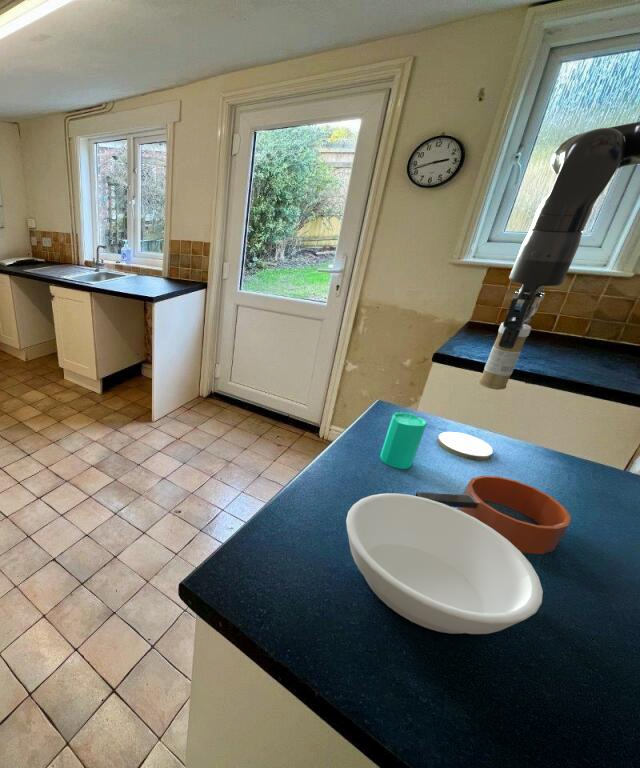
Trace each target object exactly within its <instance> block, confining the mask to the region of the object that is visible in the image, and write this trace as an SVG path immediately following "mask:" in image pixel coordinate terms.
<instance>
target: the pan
mask: <svg viewBox="0 0 640 768" xmlns="http://www.w3.org/2000/svg"><path fill="white" fill-rule="evenodd" d="M414 496H417V497H422V498H426V499H430V500H433V501H436V502H439V503H443V504H445V505H448V506H450V507H452V508H457V510H460V511H462V512H464V513H466V514H468V515H470V516H472V517H474V518H476V519H477V520H479V521H481V522H482V523H484V524H486V525H487V526H489V527H491V528H492V529H494V530H495V531H496V532H498V533H499V534H500V535H502V536H503V537H504V538H506V539H507V540H508V541H509V542H510V543H512V544H513V545H514V546H515V547H516V548H517V549H518V550H519V551H520V552H521V553H522V554H530V555H531V554H533V555H544V554H547V553H551V552H553V551H555V549H556V547H557V546H558V544H559V543H560V541H561V539H562V538H563V536H564V534H565V533H566V531H567V529H568V528H569V525H570V523H571V520H572V516H571V515H570V513H569V511H568V510H567V508H566V507H565V506H564V505H563V504H561V503H560V502H559V501H557V500H556V499H555V498H554V497H553V496H551V495H549V494H547V493H545V492H544V491H542V490H540V489H538V488H536V487H535V486H532V485H529V484H527V483H524V482H521V481H518V480H516V479H511V478H507V477H503V476H499V475H486V474H485V475H484V474H483V475H479V476H474V477H471V479H470V480H469V482H468V483H467V485H466V487H465V489H464V491H463V493H462V494H454V493H440V492H439V493H438V492H422V491H421V492H419V491H417V492H416V493H415V495H414ZM486 502H489V503H494V504H497V505H501V506H505V507H507V508H509V509H512V510H514V511H517V512H519V513H521V514H523V515H524V516H525V517H528V518H529V519H531V520H532V521H534V522H536V523H537V524H534V523H530V522H526V521H523V520H519V519H517V518H514V517H511V516H510V515H507V514H505V513H502V512H500V511H499V510H497V509H495V508H494V507H492V506H491V505H489V504H487V503H486Z"/></svg>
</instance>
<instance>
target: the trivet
mask: <svg viewBox="0 0 640 768" xmlns="http://www.w3.org/2000/svg"><path fill="white" fill-rule="evenodd" d="M437 443H438V445H439V446H440V447H441V448H442V449H444V450H445V451H447V452H449V453H451V454H453V455H456V456H458V457H462V458H464V459H465V458H466V459H470V460H476V461H477V460H478V461H481V460H482V461H484V460H488V459H490V458H492V455H493V453H494V449H493V447H492V446H491V445H490V444H489V443H487V442H485V441H484V440H482V439H480V438H479V437H476V436H473V435H470V434H467V433H463V432H457V431H444V432H441V433H439V435H438V437H437Z"/></svg>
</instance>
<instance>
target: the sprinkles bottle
mask: <svg viewBox="0 0 640 768" xmlns="http://www.w3.org/2000/svg"><path fill="white" fill-rule="evenodd" d="M504 322H505V321H503V322H501V324H500V325H499V328H498V332H497V336H496V339H495V341H494V344H493V345H492V348H491V350H490V353H489V356H488V358H487V360H486V363H485V365H484V369H483V371H482V375H481V377H480V379H479V380H478V384H480V386H482V387H484V388H487V389H491V390H497V391H500V390H505V389H506V388H507V384H508V382H509V379H510V377H511V375H512V374H513V372H514V370H515V367H516V365H517V363H518V359H519V358H520V356H521V353H522V349H523V347H524V344H525V342H526V339H528V337H529V336H530V333H531V330H532V326H531V325H529V324H528V325H526V324H524V325H523V329H521V331H520V333H519V335H518V338H517V340H516V343H515V345H514V347H513V348H511V349H508V348H503V347H500V346H499V342H500V340H501V337H502V335H503V332H504V330H505V328H504V327H503V323H504Z"/></svg>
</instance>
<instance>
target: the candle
mask: <svg viewBox="0 0 640 768" xmlns="http://www.w3.org/2000/svg"><path fill="white" fill-rule="evenodd" d="M426 427H427V421H426V419H423V418H421V417H419V416H417V415H415V414H413V412H398V411H396V412H395V413H393V414H392V416H391V420H390V422H389V425H388V429H387V431H386V436H385V438H384V441H383V445H382V448H381V452H380V454H379V457H380V460H381V461H382V462H383V464H385V465H388V466H390V467H392V468H394V469H395V468H396V469H400V470H404V469H410V468H411V467H412V466H413V463H414V461H415V458H416V455H417V452H418V449H419V446H420V444H421V441H422V438H423V435H424V432H425V430H426Z"/></svg>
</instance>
